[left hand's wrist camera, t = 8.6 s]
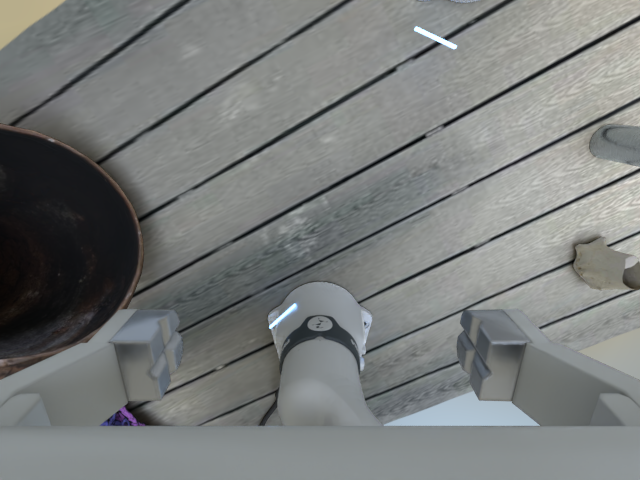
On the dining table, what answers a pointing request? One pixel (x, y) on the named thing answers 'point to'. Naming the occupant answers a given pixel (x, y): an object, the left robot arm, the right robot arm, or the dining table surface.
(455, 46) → the right robot arm
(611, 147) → the bottle
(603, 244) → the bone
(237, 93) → the dining table surface
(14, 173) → the pot
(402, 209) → the dining table surface
